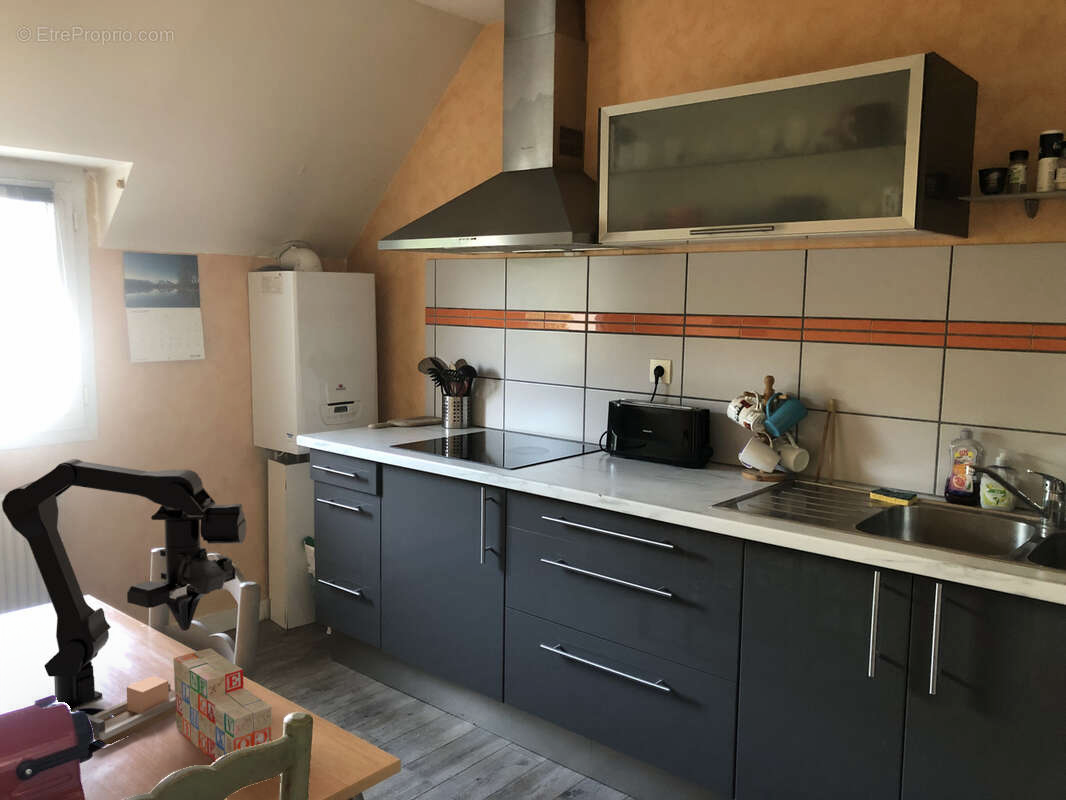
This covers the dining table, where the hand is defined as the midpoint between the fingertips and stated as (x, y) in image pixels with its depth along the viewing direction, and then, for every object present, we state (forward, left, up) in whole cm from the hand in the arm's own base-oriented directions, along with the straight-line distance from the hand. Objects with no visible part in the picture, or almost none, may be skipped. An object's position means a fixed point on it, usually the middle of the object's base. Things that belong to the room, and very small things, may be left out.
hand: (185, 629), depth 150 cm
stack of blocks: (+18, -9, -13) cm, 24 cm away
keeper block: (0, -8, -11) cm, 13 cm away
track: (0, -10, -12) cm, 16 cm away
